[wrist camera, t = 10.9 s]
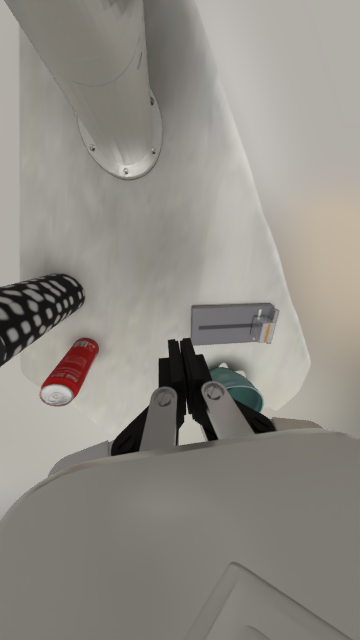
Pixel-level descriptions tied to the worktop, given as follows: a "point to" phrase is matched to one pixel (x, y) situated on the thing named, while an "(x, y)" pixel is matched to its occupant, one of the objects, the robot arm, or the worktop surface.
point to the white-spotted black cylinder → (35, 310)
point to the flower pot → (238, 388)
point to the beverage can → (69, 374)
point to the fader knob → (262, 329)
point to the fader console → (227, 322)
